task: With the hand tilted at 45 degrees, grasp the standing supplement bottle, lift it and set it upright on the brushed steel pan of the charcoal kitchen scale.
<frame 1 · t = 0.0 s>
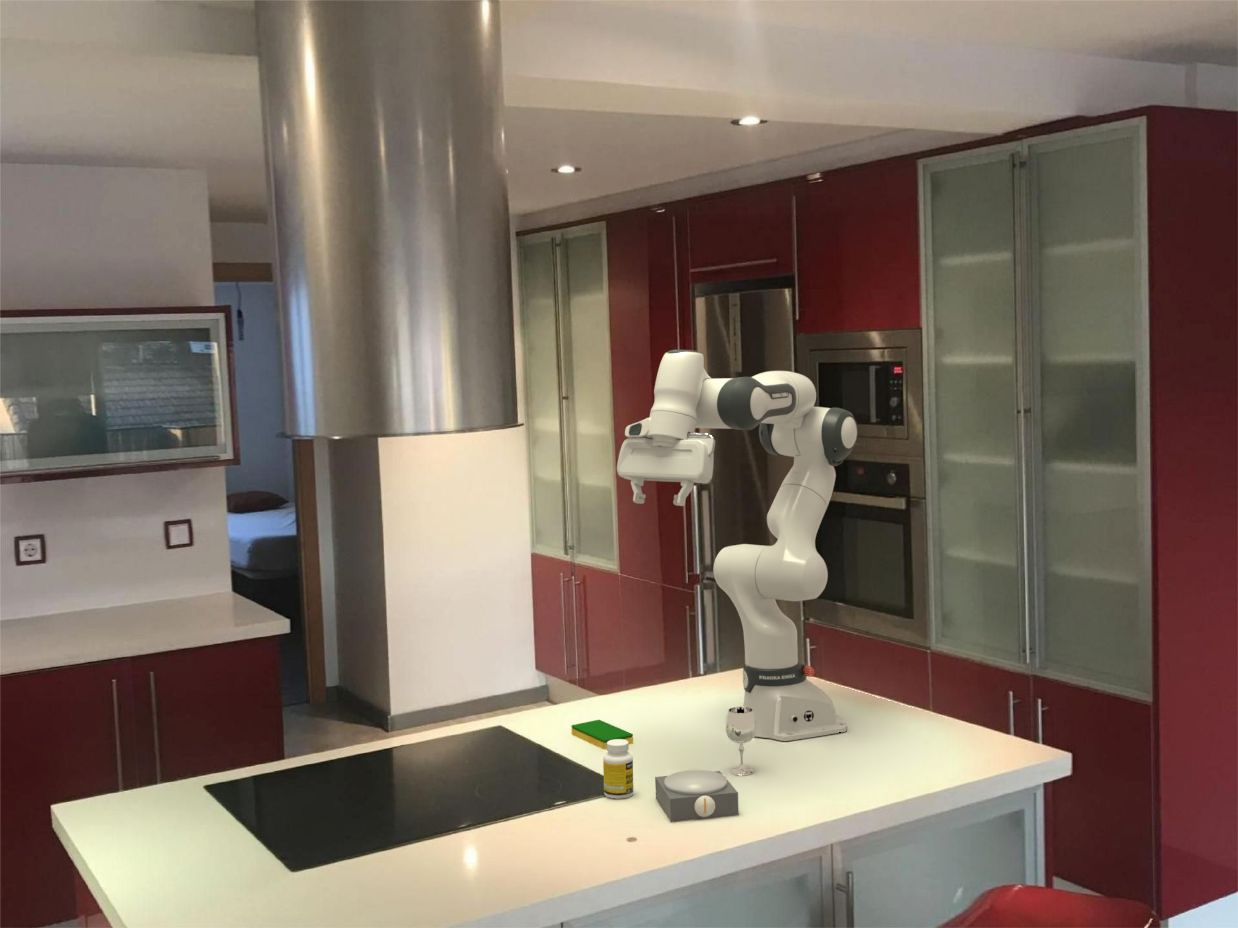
hand: (658, 504, 241), 52 cm above the counter, tool tilted 20°, fingers open, 8 cm apart
supplement bottle: (619, 795, 236), on the counter
dish sponge: (602, 741, 271), on the counter
wineglass: (742, 772, 247), on the counter
kitchen scale: (696, 806, 229), on the counter
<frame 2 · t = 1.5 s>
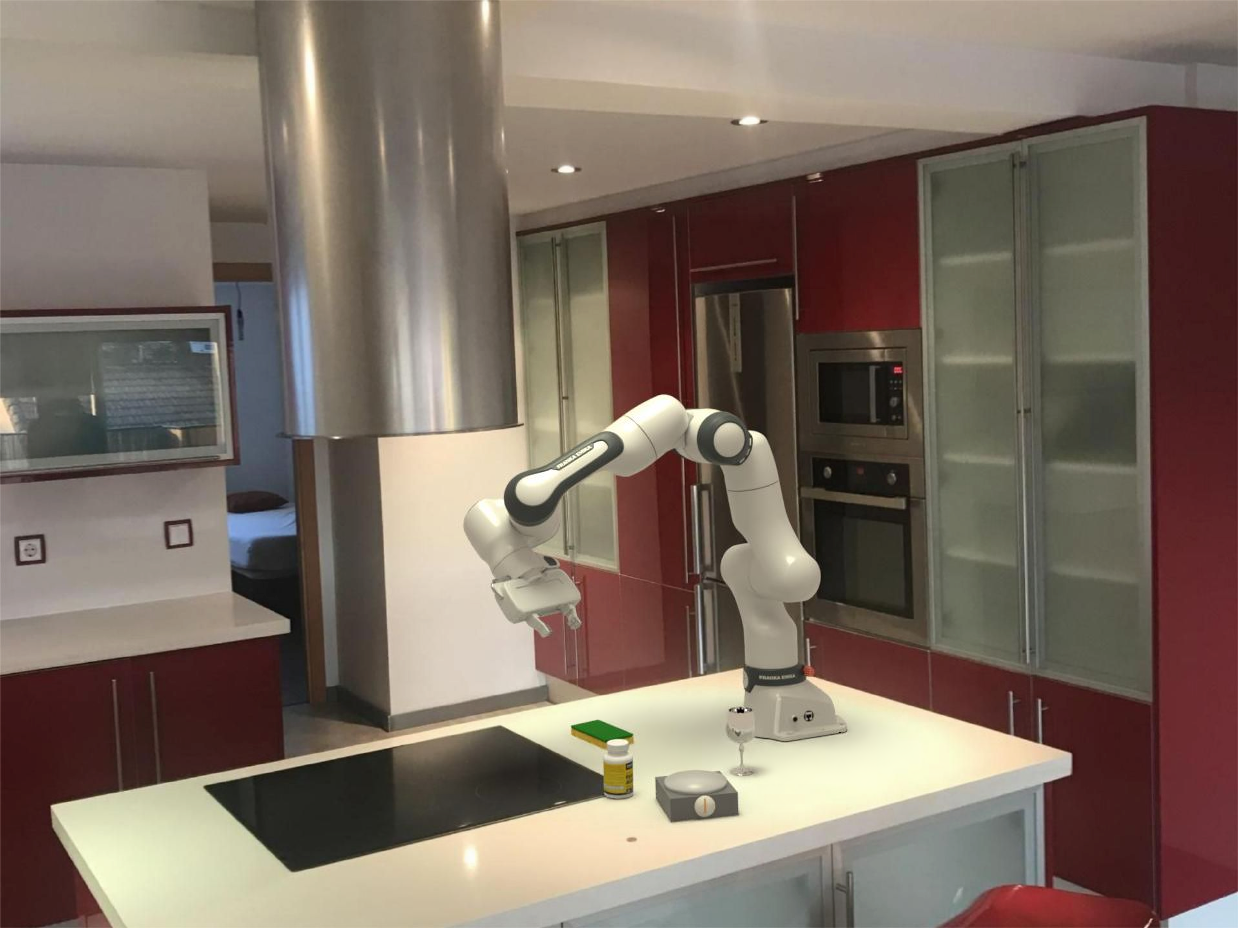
hand: (563, 630, 240), 29 cm above the counter, tool tilted 45°, fingers open, 8 cm apart
nothing on the counter moved.
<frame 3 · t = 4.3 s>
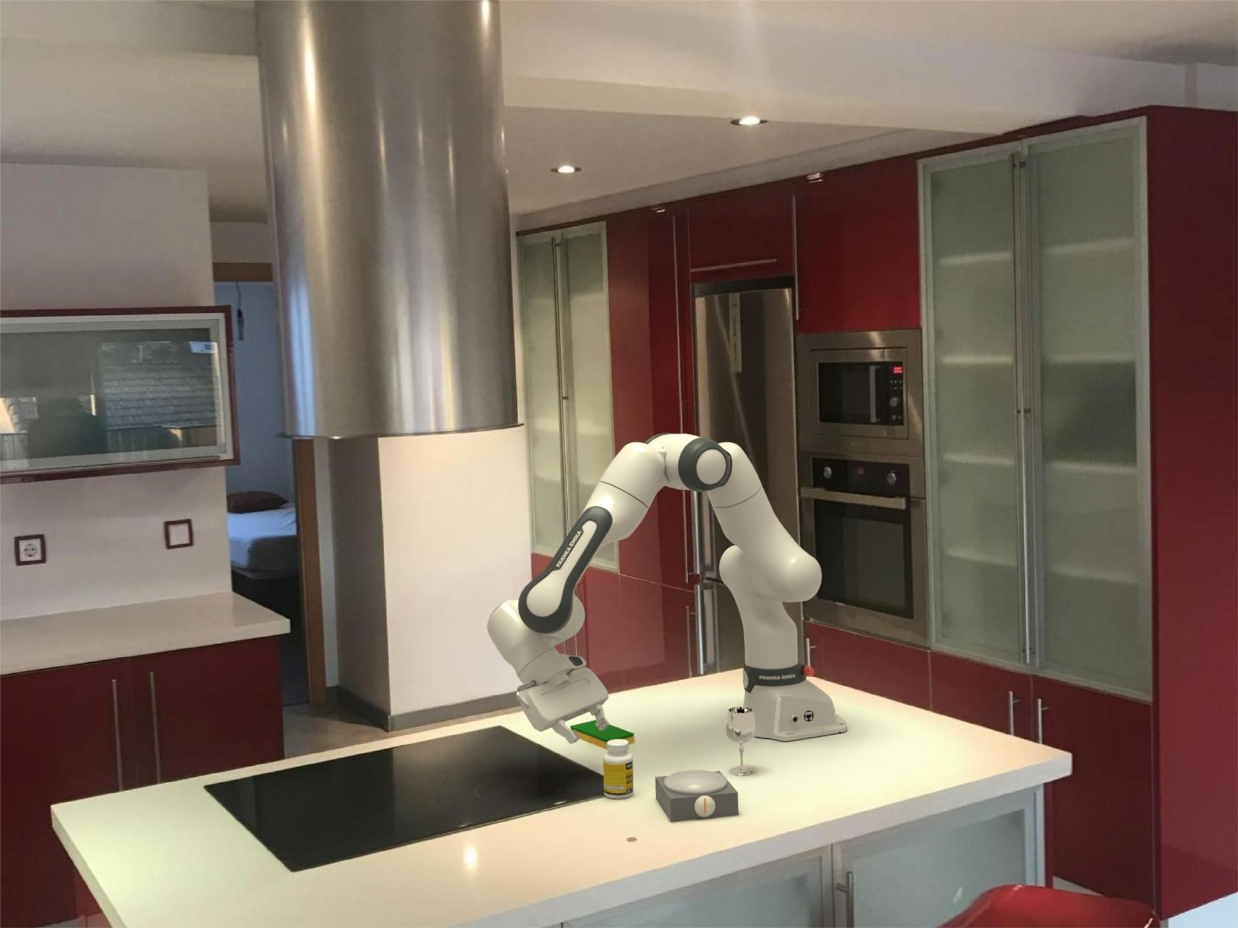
hand: (590, 734, 239), 10 cm above the counter, tool tilted 45°, fingers open, 8 cm apart
nothing on the counter moved.
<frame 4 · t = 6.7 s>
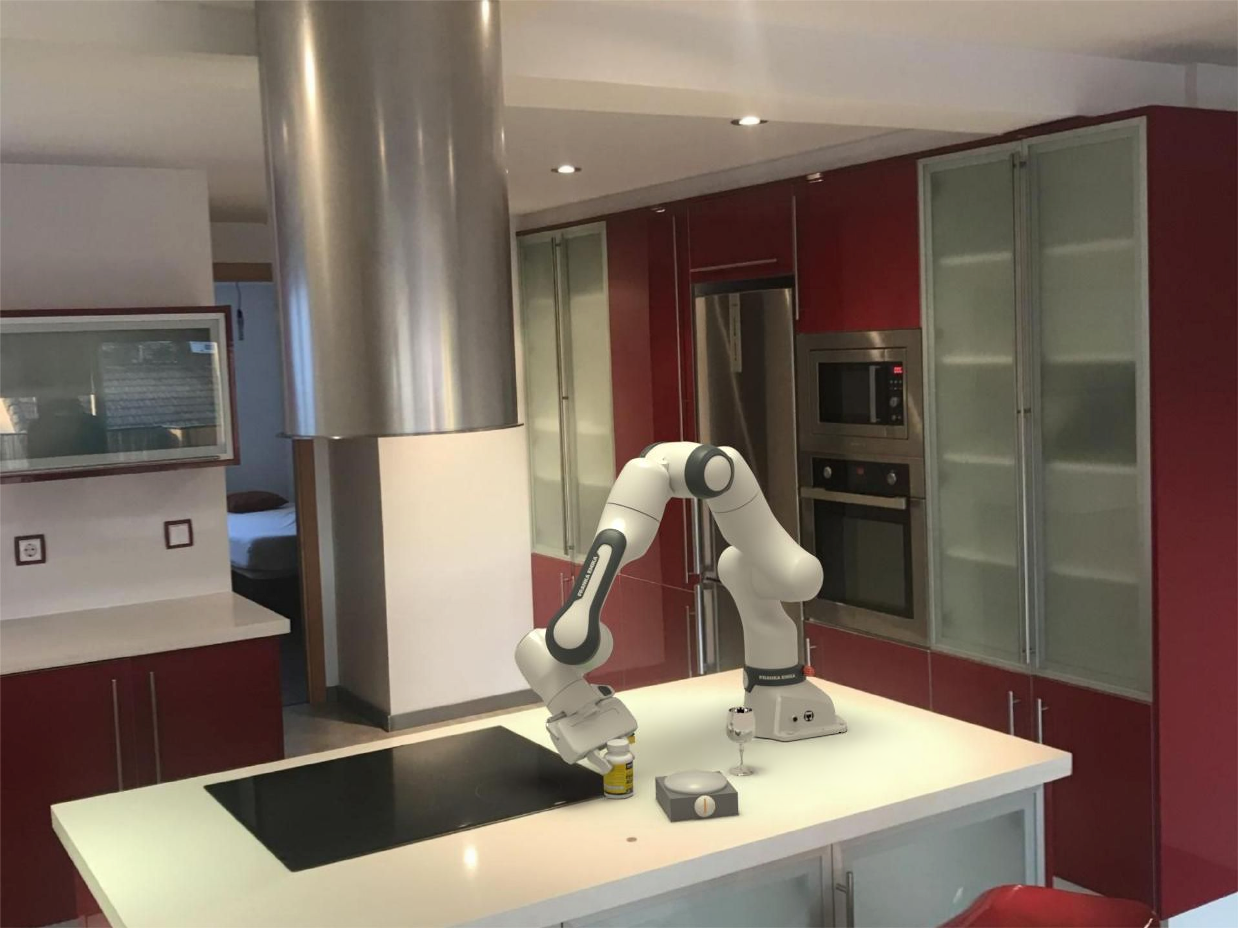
hand: (621, 765, 235), 5 cm above the counter, tool tilted 45°, fingers closed on supplement bottle, 5 cm apart
supplement bottle: (619, 795, 236), on the counter, touching gripper
everything else where it was.
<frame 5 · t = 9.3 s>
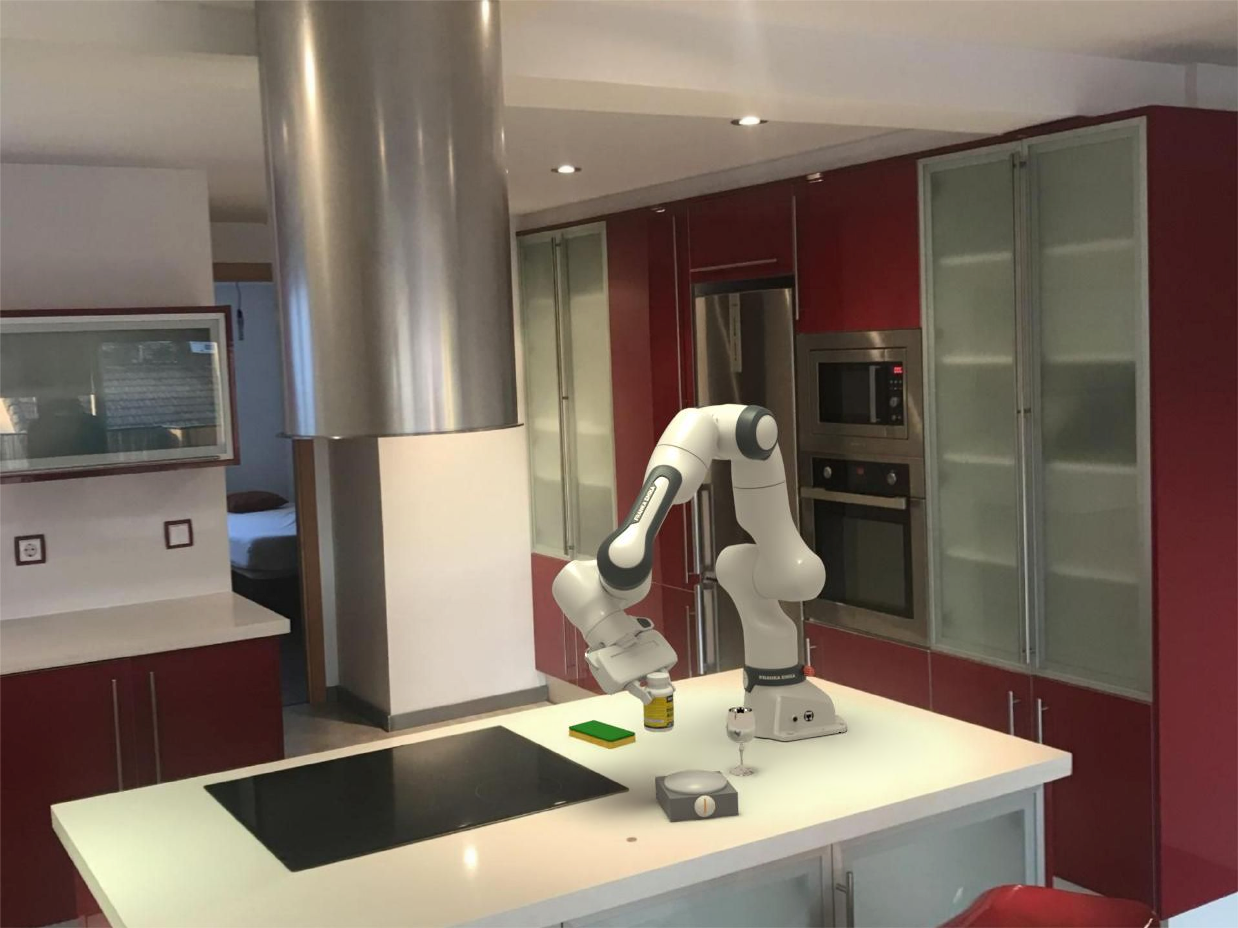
hand: (661, 697, 230), 19 cm above the counter, tool tilted 45°, fingers closed on supplement bottle, 5 cm apart
supplement bottle: (659, 729, 231), point 13 cm above the counter, touching gripper
everything else where it was.
when the fingers open (11 cm above the counter, at t = 12.1 s): supplement bottle stays where it is, resting on kitchen scale.
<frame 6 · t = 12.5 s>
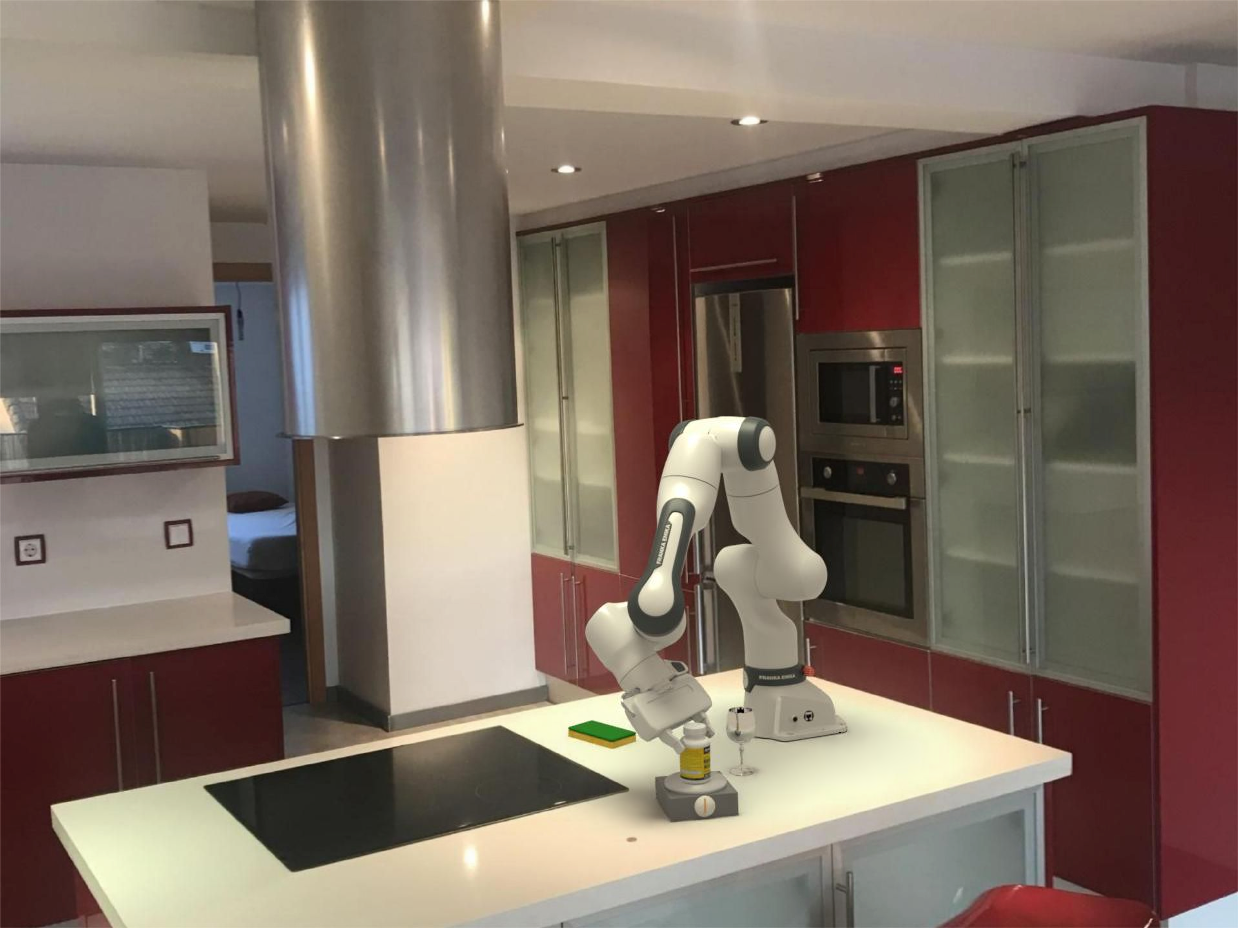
hand: (697, 744, 227), 11 cm above the counter, tool tilted 45°, fingers open, 8 cm apart
supplement bottle: (695, 780, 228), point 5 cm above the counter, touching kitchen scale
everything else where it was.
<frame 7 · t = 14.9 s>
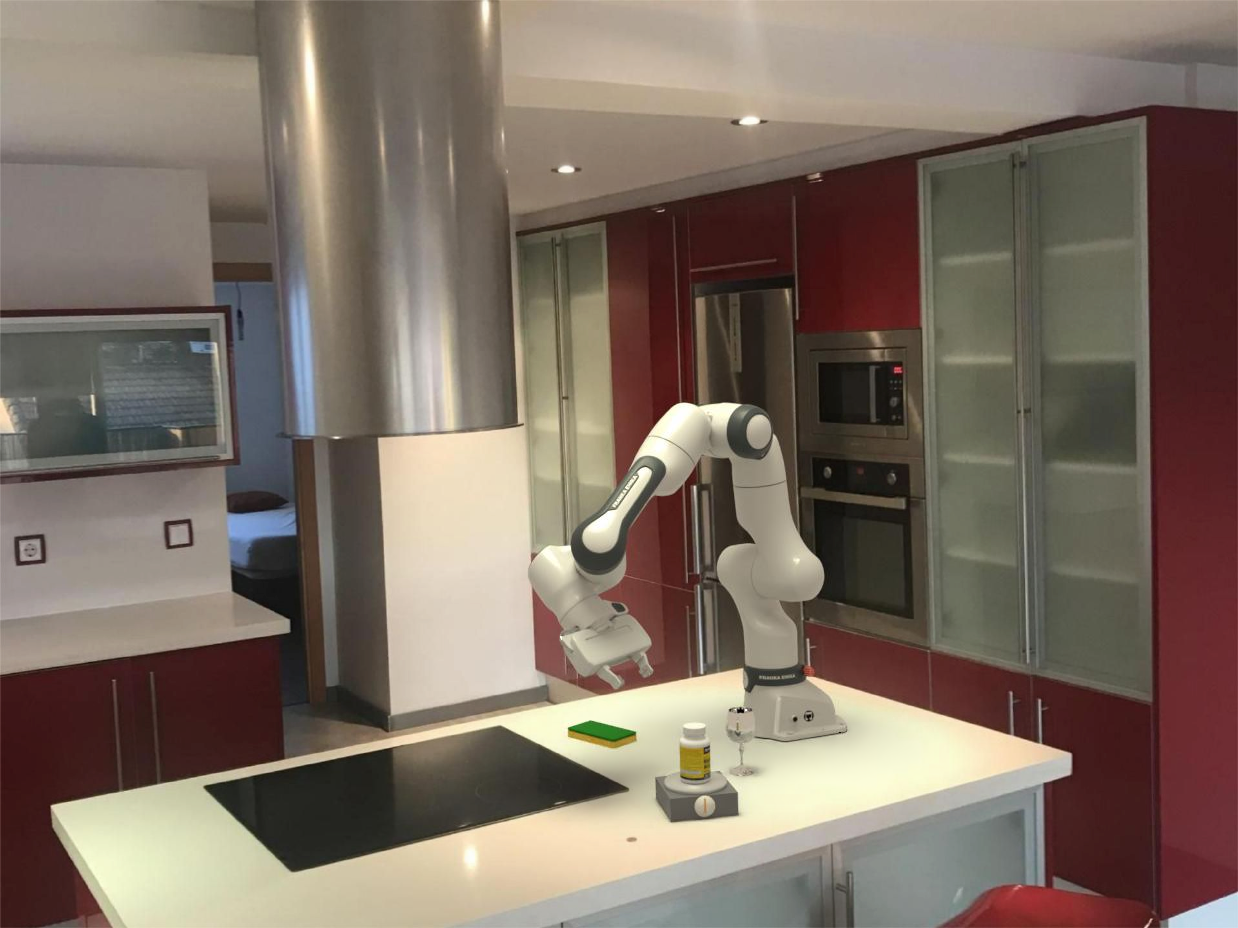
hand: (635, 680, 234), 21 cm above the counter, tool tilted 45°, fingers open, 8 cm apart
nothing on the counter moved.
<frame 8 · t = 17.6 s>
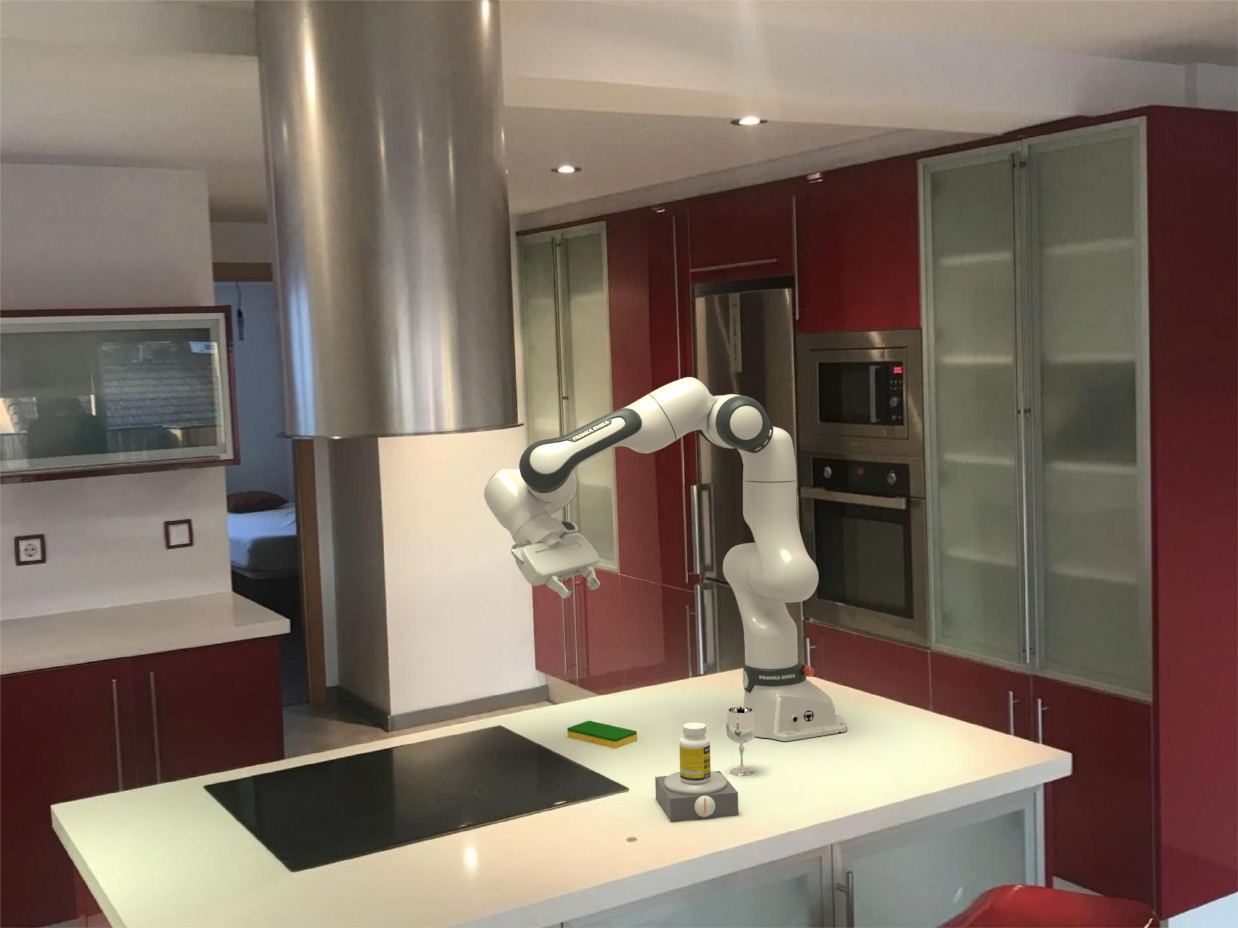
hand: (582, 591, 251), 34 cm above the counter, tool tilted 45°, fingers open, 8 cm apart
at the end: supplement bottle inside the target area on the kitchen scale (0.1 cm from its centre), point 4.6 cm above the kitchen scale's base; supplement bottle tilted 0°; the gripper is holding nothing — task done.
